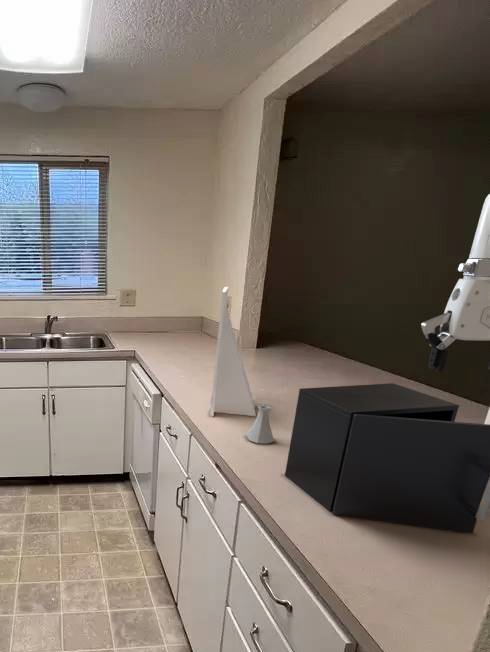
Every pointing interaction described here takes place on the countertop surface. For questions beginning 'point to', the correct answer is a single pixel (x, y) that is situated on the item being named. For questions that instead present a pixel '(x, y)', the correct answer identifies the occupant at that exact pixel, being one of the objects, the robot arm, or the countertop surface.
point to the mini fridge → (346, 428)
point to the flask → (261, 427)
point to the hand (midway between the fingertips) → (465, 370)
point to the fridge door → (416, 472)
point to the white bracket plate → (229, 371)
